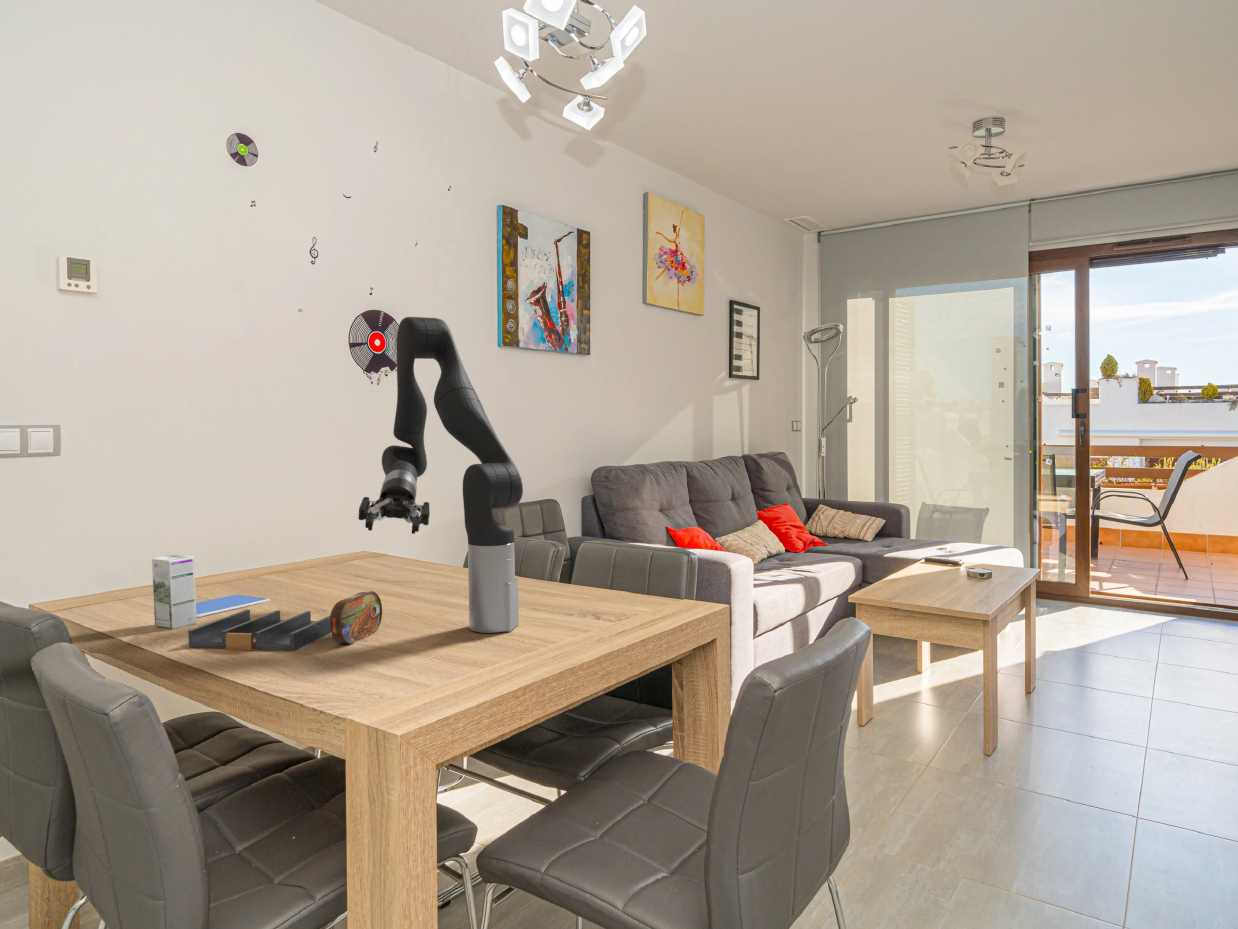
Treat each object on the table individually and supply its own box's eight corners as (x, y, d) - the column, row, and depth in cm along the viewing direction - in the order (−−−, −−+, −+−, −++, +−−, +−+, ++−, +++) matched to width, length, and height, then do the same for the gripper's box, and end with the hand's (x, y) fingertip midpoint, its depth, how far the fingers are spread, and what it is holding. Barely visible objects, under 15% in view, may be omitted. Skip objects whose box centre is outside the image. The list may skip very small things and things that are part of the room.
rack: (341, 627, 154) (341, 612, 154) (292, 652, 137) (291, 634, 137) (246, 624, 157) (246, 609, 157) (186, 648, 140) (186, 631, 140)
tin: (342, 649, 139) (341, 603, 138) (327, 648, 139) (326, 603, 139) (384, 628, 153) (383, 587, 153) (370, 628, 154) (369, 587, 154)
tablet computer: (236, 598, 186) (236, 593, 186) (272, 603, 181) (272, 597, 181) (159, 615, 169) (159, 610, 169) (195, 621, 164) (195, 615, 163)
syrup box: (198, 623, 159) (195, 555, 159) (171, 630, 154) (168, 559, 153) (180, 621, 162) (177, 553, 161) (153, 627, 156) (150, 557, 156)
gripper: (366, 474, 165) (356, 509, 151) (433, 480, 169) (429, 515, 154) (364, 504, 168) (354, 541, 154) (430, 509, 172) (426, 546, 157)
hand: (392, 528), depth 154 cm, fingers open, 8 cm apart
